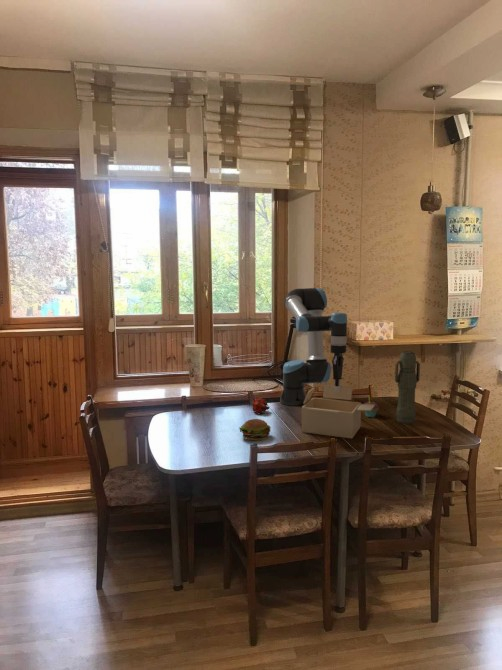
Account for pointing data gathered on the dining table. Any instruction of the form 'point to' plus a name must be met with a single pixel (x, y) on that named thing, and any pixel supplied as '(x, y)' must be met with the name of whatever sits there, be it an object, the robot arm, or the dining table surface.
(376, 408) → the cupcake
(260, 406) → the dragon fruit
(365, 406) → the flap far end
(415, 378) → the thermos
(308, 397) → the flap arm end
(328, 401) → the carton
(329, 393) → the flap far
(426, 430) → the dining table surface
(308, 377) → the robot arm
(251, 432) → the food
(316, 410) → the flap near
